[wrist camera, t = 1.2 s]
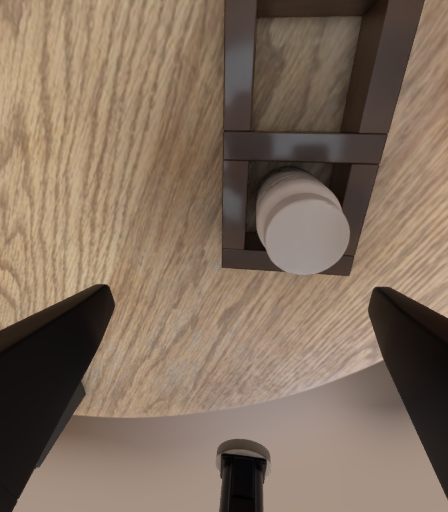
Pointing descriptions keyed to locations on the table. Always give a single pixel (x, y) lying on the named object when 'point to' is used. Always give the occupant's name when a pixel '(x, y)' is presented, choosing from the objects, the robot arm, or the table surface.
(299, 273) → the pill bottle
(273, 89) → the table surface
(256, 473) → the robot arm
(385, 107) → the holder
